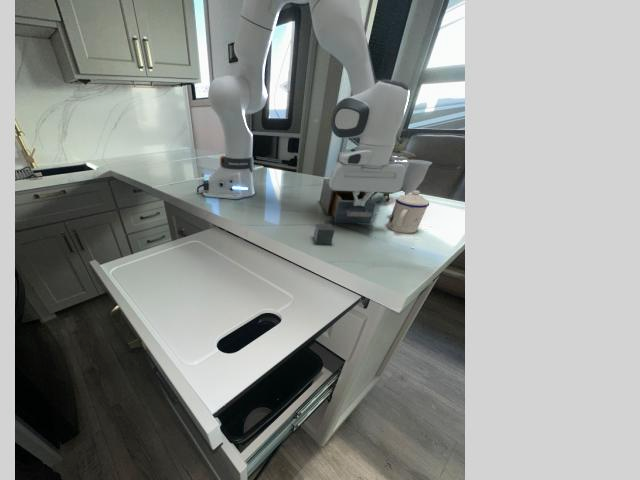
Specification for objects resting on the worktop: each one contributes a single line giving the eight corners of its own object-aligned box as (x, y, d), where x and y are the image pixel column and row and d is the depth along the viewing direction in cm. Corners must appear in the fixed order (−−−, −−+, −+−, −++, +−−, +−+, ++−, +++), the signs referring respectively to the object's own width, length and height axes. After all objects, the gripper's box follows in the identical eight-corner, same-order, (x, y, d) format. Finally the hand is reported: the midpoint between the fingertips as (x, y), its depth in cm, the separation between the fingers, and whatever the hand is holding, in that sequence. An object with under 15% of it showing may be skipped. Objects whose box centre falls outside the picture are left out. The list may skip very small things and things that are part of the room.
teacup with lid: (391, 220, 92) (405, 185, 84) (420, 227, 87) (437, 190, 80) (379, 230, 85) (392, 193, 77) (409, 239, 80) (426, 200, 73)
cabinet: (362, 216, 95) (369, 191, 90) (326, 214, 95) (332, 190, 90) (350, 202, 107) (356, 179, 102) (319, 201, 108) (323, 178, 102)
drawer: (374, 229, 83) (381, 207, 79) (337, 227, 84) (343, 206, 80) (357, 208, 99) (362, 189, 94) (326, 207, 99) (330, 188, 95)
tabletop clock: (383, 195, 115) (406, 126, 100) (403, 200, 109) (430, 129, 94) (362, 200, 109) (382, 128, 94) (381, 206, 103) (406, 130, 88)
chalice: (404, 215, 96) (426, 160, 85) (412, 222, 90) (436, 164, 79) (383, 214, 96) (402, 159, 85) (389, 221, 91) (411, 163, 80)
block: (315, 244, 77) (318, 229, 74) (313, 237, 80) (315, 223, 77) (330, 244, 76) (334, 230, 74) (328, 238, 80) (331, 224, 77)
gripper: (406, 154, 75) (388, 203, 84) (334, 152, 76) (323, 201, 85) (416, 159, 70) (396, 210, 79) (338, 156, 71) (327, 208, 80)
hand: (358, 205), depth 82 cm, fingers closed
